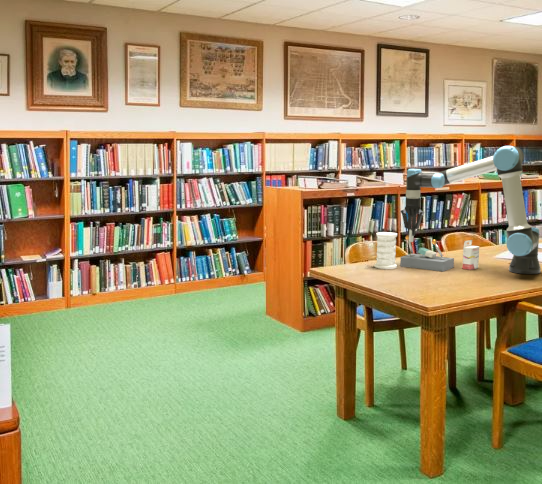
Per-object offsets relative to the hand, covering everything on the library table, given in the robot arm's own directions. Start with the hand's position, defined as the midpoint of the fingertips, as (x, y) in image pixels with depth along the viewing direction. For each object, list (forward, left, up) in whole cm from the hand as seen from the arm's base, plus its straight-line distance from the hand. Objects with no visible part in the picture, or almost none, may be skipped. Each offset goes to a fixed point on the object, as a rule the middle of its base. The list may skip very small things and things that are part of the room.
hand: (411, 241), depth 346 cm
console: (-9, 0, -13) cm, 16 cm away
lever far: (-1, 0, -7) cm, 6 cm away
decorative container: (+8, +14, -13) cm, 20 cm away
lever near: (-18, 0, -7) cm, 19 cm away
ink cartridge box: (-29, -10, -13) cm, 34 cm away
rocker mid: (-9, 0, -6) cm, 11 cm away
